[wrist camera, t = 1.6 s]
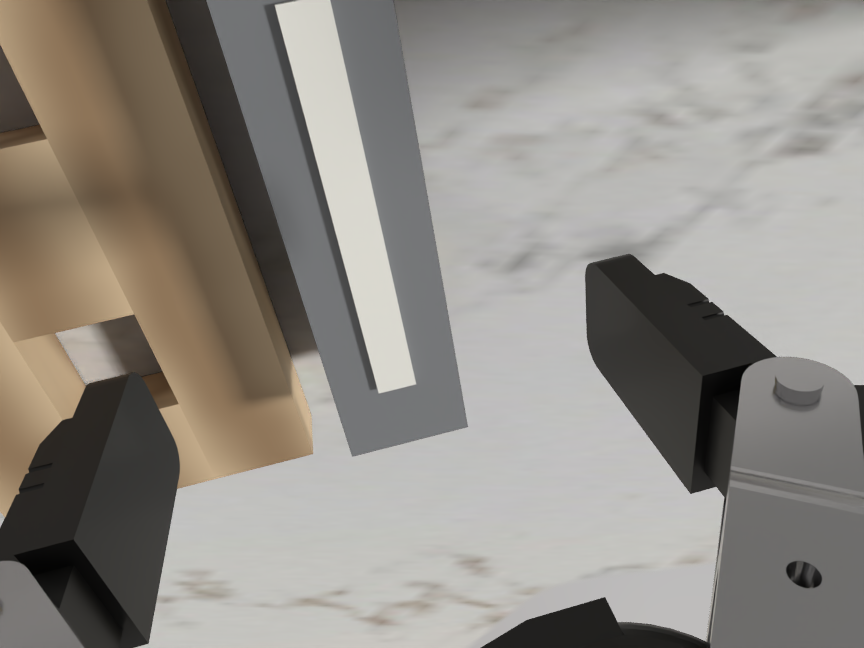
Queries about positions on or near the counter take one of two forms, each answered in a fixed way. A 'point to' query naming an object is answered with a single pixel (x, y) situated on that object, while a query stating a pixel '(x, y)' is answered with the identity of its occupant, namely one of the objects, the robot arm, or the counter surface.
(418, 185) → the strip
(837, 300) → the counter surface
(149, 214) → the socket board
